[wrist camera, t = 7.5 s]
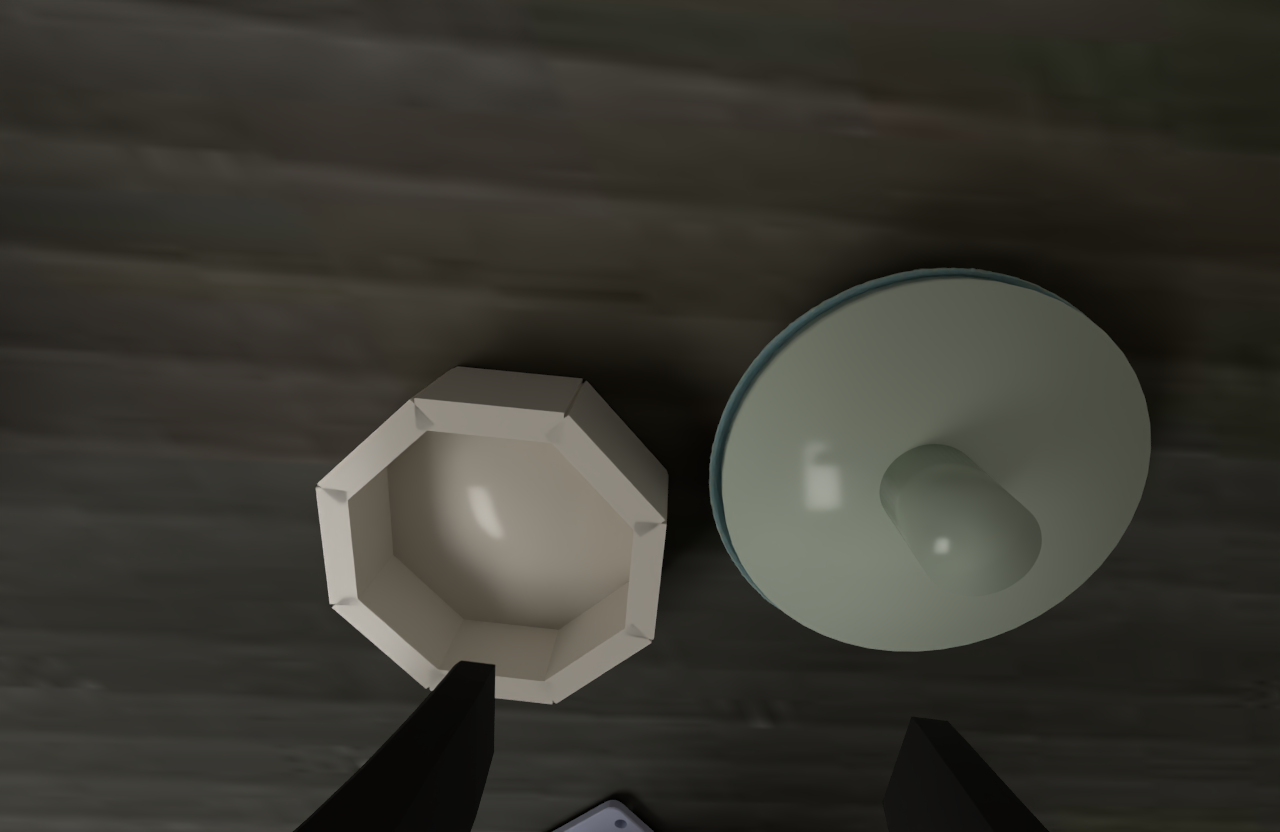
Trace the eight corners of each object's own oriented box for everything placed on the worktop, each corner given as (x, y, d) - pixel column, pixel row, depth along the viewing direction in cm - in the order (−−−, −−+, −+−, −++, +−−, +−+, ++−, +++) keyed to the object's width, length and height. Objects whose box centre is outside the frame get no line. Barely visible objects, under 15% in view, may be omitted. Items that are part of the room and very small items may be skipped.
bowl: (723, 533, 20) (731, 591, 17) (515, 673, 23) (491, 745, 20) (520, 306, 18) (488, 327, 15) (317, 491, 20) (254, 540, 17)
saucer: (655, 535, 21) (652, 574, 18) (801, 199, 17) (819, 198, 14) (959, 642, 21) (990, 691, 19) (1169, 344, 17) (1238, 364, 15)
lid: (1190, 521, 17) (1327, 608, 13) (841, 685, 20) (876, 793, 16) (1023, 181, 14) (1139, 175, 11) (645, 428, 17) (636, 489, 13)
